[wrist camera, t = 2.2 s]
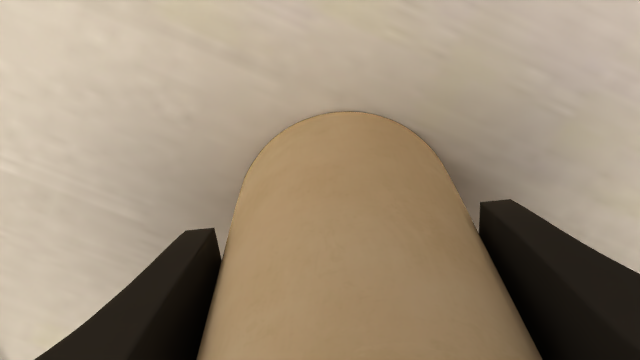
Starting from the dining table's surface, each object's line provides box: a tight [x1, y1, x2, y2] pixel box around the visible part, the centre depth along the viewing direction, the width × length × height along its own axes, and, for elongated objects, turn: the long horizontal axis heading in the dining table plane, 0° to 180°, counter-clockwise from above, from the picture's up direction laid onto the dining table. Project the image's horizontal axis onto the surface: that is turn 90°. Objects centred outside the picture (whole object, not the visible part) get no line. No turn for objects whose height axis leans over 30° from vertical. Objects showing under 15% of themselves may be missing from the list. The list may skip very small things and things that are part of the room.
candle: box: [196, 112, 542, 360], centre depth 10 cm, size 6×6×10 cm
